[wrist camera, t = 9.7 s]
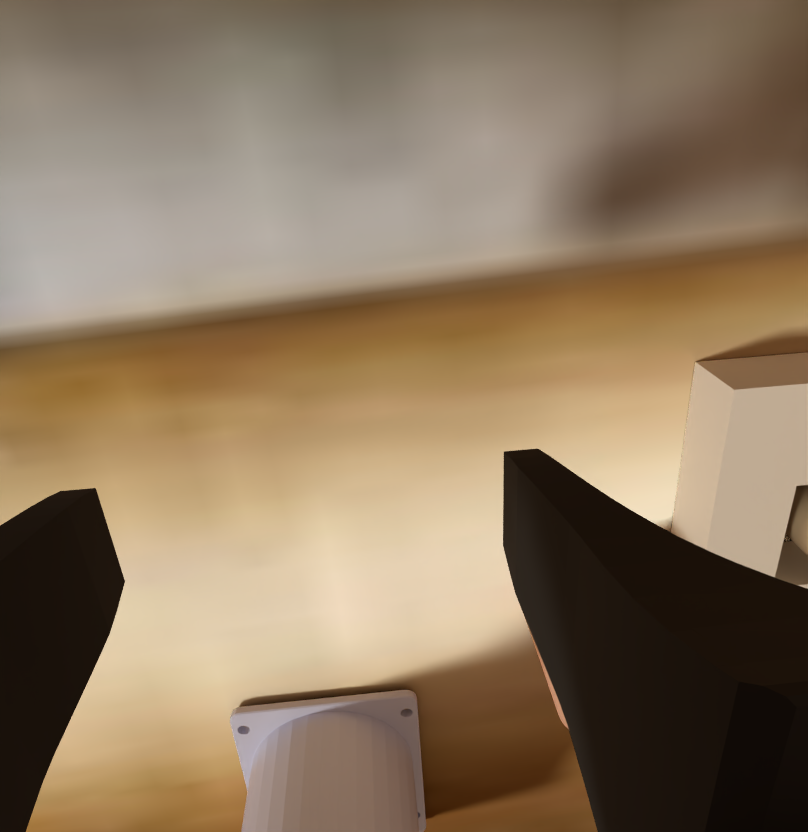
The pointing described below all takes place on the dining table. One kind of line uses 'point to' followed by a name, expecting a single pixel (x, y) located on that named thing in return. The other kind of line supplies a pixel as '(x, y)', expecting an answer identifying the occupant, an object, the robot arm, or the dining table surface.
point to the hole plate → (745, 461)
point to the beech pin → (799, 519)
